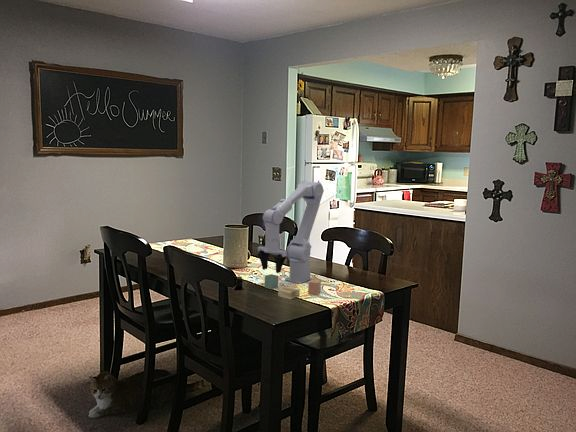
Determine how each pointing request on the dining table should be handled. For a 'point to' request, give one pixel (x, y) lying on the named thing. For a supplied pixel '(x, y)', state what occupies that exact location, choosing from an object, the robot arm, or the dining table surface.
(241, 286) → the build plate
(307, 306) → the dining table surface
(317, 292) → the terracotta block
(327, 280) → the dining table surface
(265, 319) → the dining table surface
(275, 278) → the teal block
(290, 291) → the maple block
